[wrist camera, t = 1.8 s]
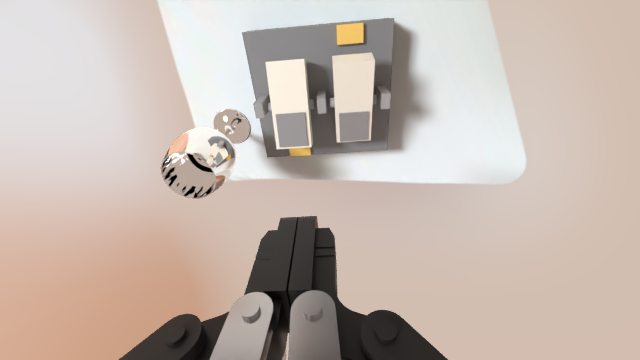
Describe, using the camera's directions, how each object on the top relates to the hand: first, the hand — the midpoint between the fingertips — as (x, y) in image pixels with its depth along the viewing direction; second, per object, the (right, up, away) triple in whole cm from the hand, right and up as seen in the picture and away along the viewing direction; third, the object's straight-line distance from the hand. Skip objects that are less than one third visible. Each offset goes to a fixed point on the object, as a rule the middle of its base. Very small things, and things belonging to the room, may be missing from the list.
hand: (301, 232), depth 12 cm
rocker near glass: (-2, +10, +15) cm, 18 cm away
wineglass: (-10, +9, +22) cm, 25 cm away
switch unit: (+1, +12, +19) cm, 23 cm away
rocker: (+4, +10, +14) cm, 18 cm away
